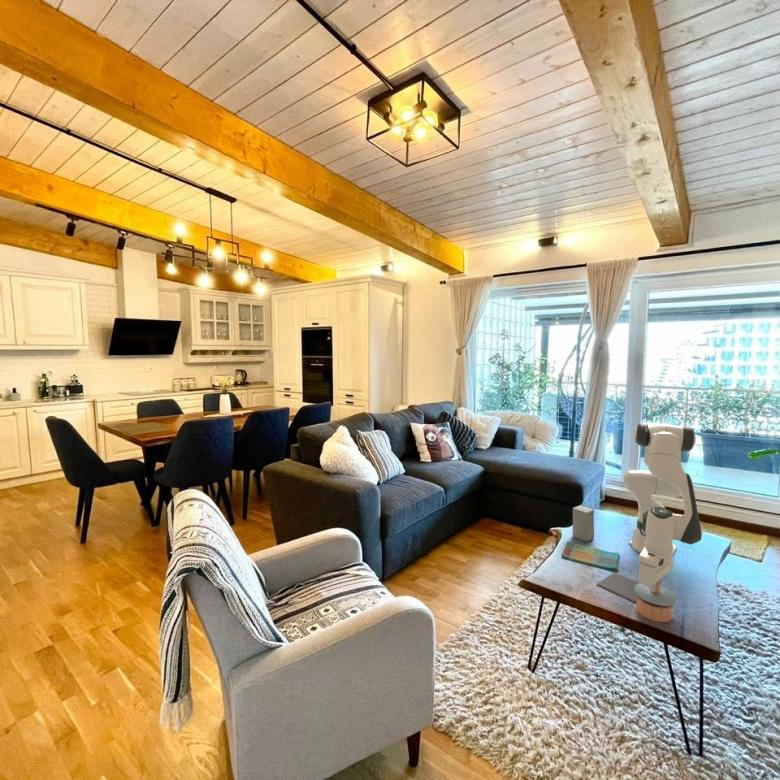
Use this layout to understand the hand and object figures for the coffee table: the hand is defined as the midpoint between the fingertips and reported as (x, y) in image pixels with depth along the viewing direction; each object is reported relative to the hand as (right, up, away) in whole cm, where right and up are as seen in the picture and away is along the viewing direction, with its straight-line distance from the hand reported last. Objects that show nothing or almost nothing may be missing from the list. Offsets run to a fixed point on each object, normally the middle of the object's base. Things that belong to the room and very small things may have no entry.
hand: (655, 589), depth 153 cm
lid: (0, -3, 0) cm, 2 cm away
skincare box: (+2, -3, +61) cm, 61 cm away
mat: (-2, -7, +17) cm, 19 cm away
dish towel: (-4, -6, +42) cm, 42 cm away
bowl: (0, -9, +1) cm, 9 cm away
